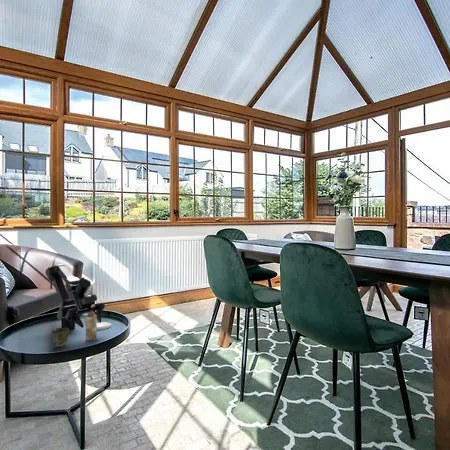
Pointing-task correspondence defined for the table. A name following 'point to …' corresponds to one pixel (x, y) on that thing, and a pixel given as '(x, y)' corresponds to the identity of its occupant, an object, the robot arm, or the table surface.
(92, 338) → the pepper mill
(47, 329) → the table surface
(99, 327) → the plate
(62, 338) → the cup
